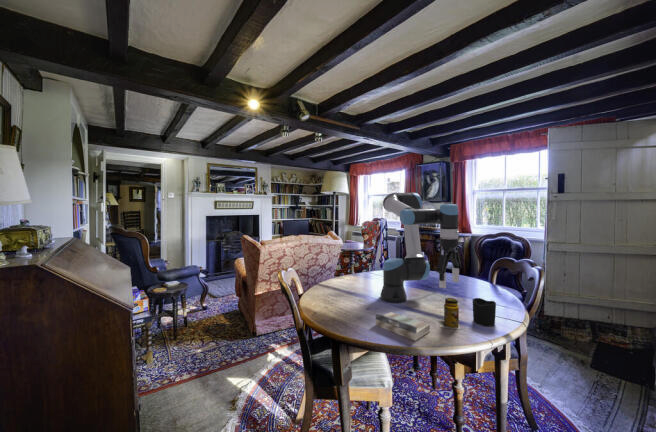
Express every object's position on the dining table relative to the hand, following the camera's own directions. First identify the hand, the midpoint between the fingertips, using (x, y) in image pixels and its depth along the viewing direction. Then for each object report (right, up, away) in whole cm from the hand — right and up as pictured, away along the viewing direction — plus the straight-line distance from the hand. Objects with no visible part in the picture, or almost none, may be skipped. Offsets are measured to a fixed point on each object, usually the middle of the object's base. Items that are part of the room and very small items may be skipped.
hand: (449, 284), depth 121 cm
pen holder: (+17, -19, +3) cm, 25 cm away
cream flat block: (-22, -19, -2) cm, 29 cm away
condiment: (0, -19, +1) cm, 19 cm away
